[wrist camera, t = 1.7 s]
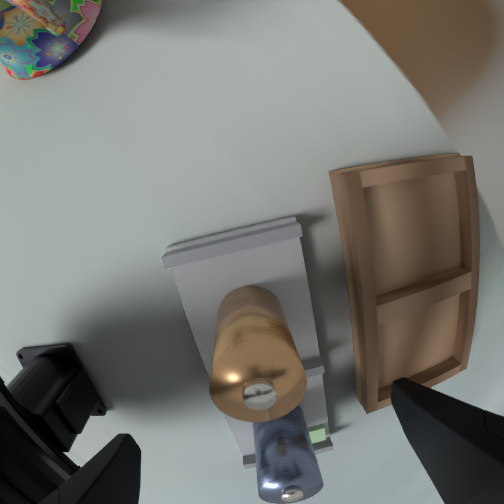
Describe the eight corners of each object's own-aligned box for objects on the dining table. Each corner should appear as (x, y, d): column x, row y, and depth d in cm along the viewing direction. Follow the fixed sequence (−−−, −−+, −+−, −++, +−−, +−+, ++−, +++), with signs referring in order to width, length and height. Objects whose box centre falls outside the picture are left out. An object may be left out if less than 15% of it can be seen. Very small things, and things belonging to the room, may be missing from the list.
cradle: (244, 453, 20) (245, 469, 19) (168, 245, 16) (160, 253, 14) (328, 435, 20) (333, 450, 19) (292, 215, 16) (299, 220, 14)
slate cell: (258, 437, 19) (266, 513, 12) (246, 405, 18) (252, 490, 11) (305, 426, 19) (326, 501, 12) (299, 394, 18) (323, 475, 11)
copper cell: (227, 348, 17) (224, 437, 10) (210, 293, 16) (194, 369, 9) (287, 335, 17) (315, 418, 10) (275, 278, 16) (302, 346, 9)
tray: (355, 395, 19) (366, 415, 17) (328, 171, 15) (343, 170, 13) (450, 355, 19) (466, 370, 17) (448, 153, 15) (471, 152, 13)
